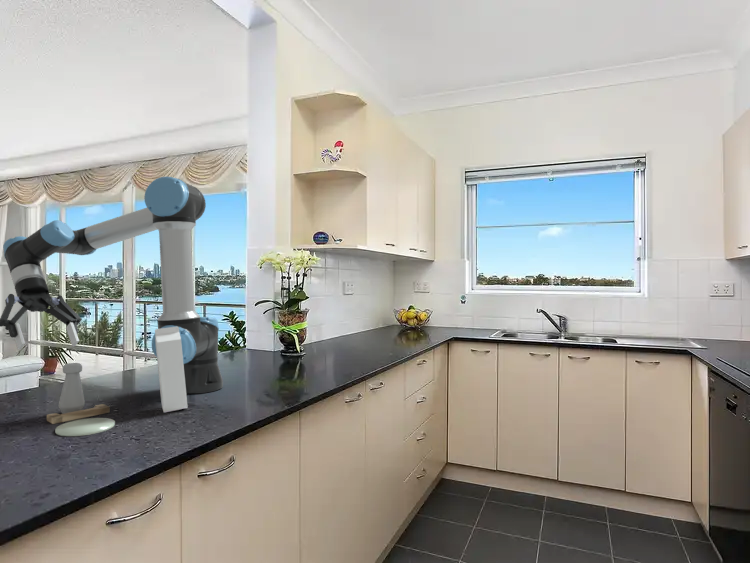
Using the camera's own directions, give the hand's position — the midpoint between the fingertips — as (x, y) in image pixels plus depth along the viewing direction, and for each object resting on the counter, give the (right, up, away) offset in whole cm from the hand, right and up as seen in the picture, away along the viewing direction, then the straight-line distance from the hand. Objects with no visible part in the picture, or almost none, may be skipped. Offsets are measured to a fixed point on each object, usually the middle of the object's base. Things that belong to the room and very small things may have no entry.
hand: (49, 345), depth 130 cm
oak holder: (+14, -17, -9) cm, 24 cm away
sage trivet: (+21, -17, -18) cm, 32 cm away
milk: (+35, -17, -1) cm, 39 cm away
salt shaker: (+10, -17, -6) cm, 21 cm away
